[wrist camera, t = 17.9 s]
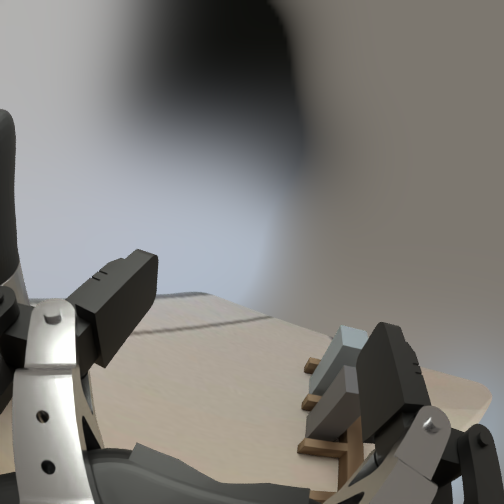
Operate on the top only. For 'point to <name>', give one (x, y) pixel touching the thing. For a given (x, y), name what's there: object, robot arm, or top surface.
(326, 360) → the slate plug
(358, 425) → the cable comb
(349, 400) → the grey tall rectangular block
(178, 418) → the top surface
